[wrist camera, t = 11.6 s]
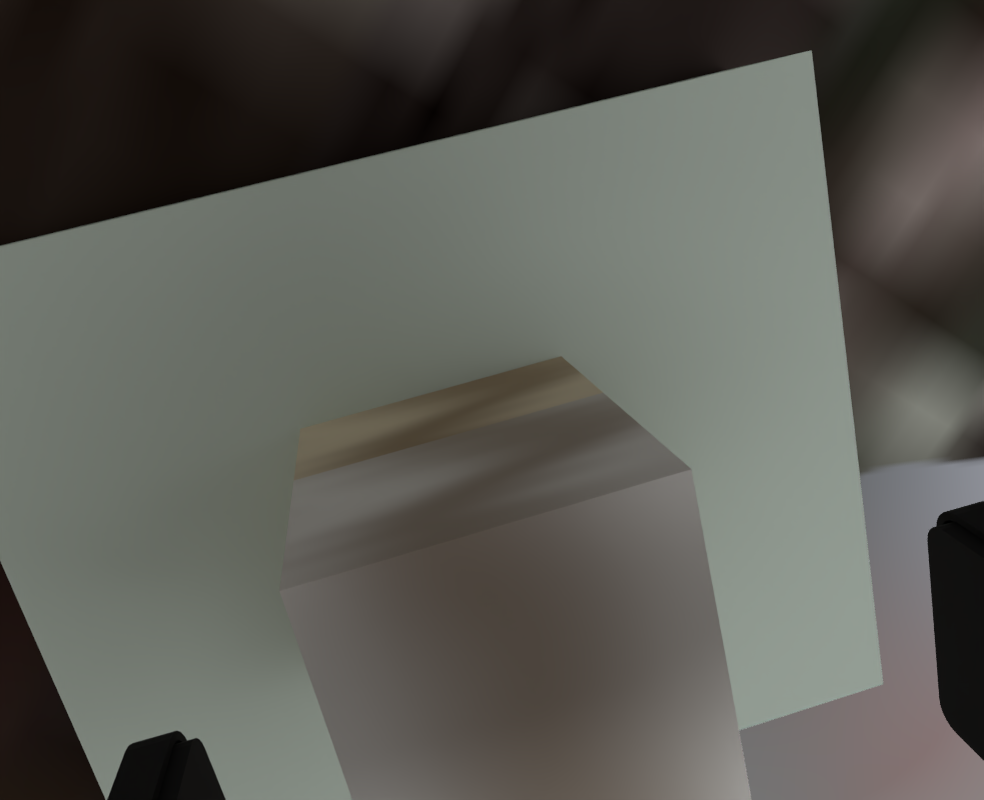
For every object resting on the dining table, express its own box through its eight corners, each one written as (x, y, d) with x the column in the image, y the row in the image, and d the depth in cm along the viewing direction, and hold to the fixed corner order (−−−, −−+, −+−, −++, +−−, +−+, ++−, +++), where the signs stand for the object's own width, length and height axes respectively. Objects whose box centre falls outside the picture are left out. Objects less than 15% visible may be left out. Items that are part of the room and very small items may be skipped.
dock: (726, 69, 21) (811, 50, 17) (802, 606, 26) (883, 684, 22) (-36, 254, 19) (-125, 276, 16) (186, 796, 24) (158, 917, 20)
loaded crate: (561, 355, 18) (692, 468, 12) (612, 586, 20) (752, 802, 13) (300, 428, 18) (279, 591, 11) (374, 659, 19) (395, 923, 13)
